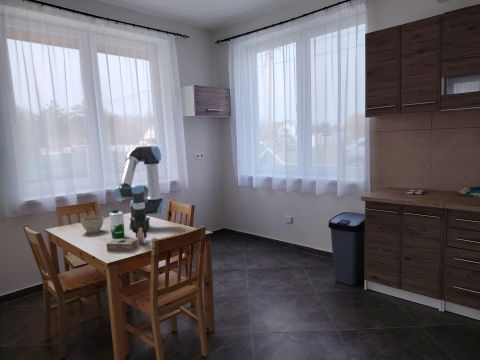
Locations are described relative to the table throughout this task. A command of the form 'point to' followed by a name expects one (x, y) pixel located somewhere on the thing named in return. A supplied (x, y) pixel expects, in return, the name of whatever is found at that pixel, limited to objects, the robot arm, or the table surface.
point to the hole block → (122, 245)
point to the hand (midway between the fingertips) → (141, 242)
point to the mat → (145, 243)
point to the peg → (141, 235)
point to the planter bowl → (92, 223)
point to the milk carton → (117, 224)
